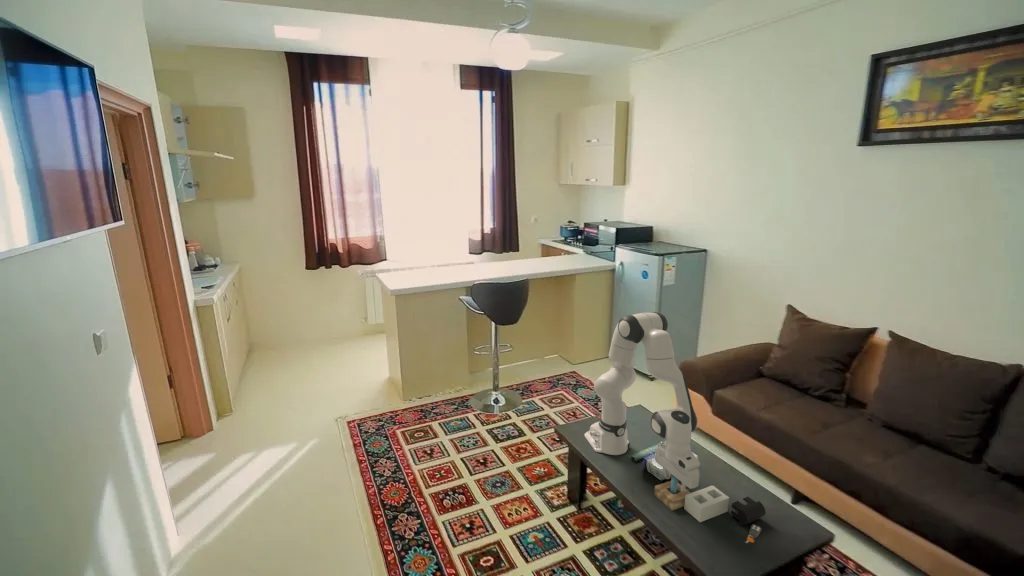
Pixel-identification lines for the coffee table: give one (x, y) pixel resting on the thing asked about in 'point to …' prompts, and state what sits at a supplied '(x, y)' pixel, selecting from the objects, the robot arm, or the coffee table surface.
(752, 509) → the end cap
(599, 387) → the robot arm
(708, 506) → the white cinder block
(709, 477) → the coffee table surface
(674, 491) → the pin
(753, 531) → the key chain
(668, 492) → the mount block
